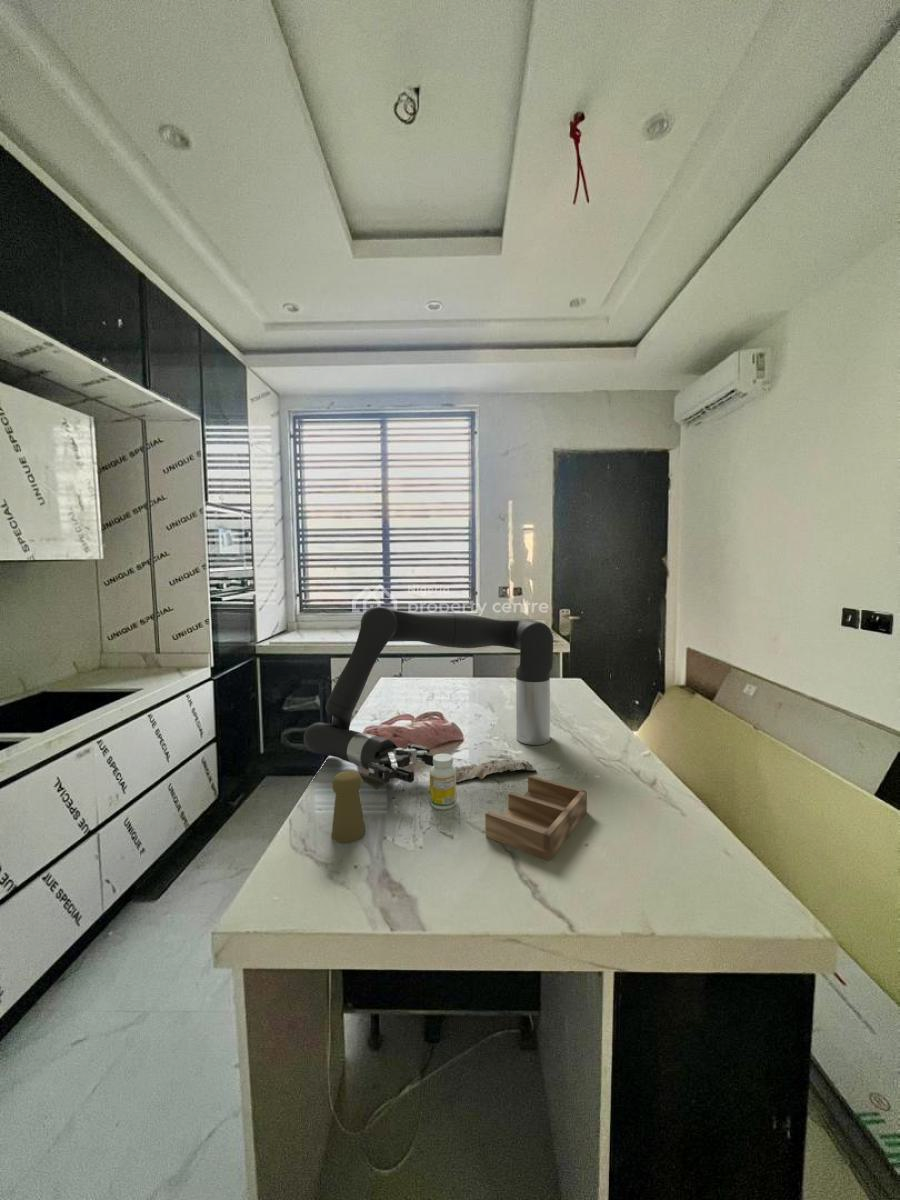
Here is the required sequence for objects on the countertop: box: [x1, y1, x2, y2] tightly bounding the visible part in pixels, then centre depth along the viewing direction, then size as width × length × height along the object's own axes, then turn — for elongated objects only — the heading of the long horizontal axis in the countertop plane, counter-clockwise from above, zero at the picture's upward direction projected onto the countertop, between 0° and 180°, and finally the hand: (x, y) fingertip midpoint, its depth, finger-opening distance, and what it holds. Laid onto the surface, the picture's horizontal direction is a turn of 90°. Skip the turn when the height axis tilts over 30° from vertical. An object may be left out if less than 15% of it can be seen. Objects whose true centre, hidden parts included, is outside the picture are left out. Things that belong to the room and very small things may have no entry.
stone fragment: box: [454, 758, 538, 783], centre depth 104 cm, size 25×3×10 cm
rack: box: [484, 774, 588, 862], centre depth 83 cm, size 18×12×4 cm, turn 144°
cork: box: [331, 770, 367, 844], centre depth 80 cm, size 6×6×11 cm
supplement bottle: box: [429, 753, 457, 810], centre depth 90 cm, size 5×5×10 cm
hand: (426, 769), depth 93 cm, fingers open, 8 cm apart
